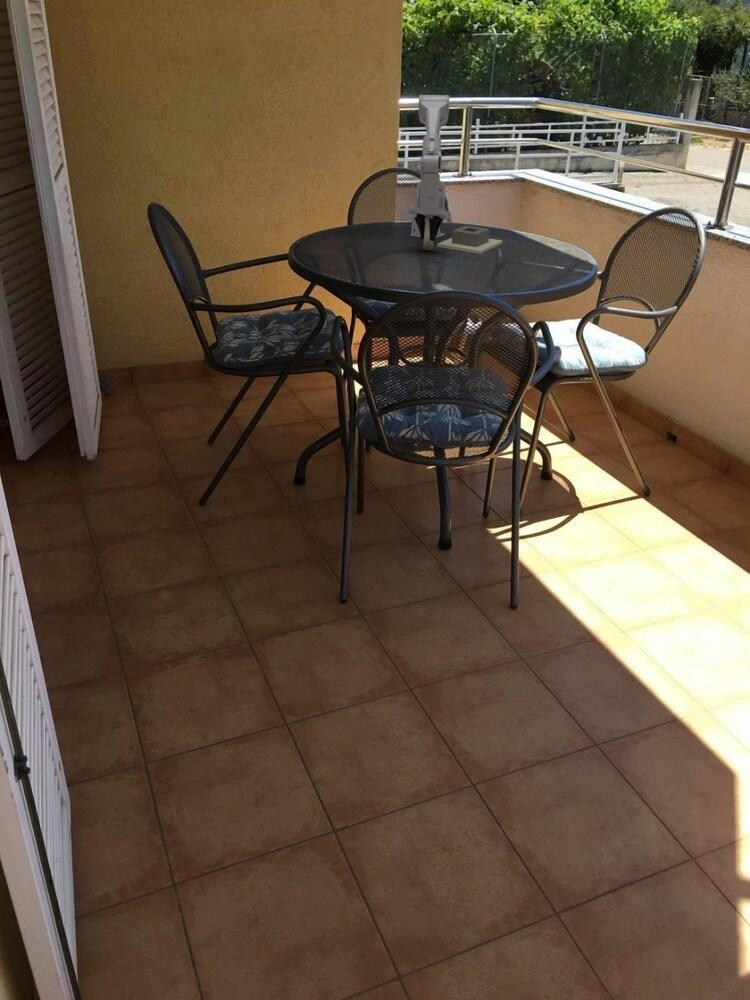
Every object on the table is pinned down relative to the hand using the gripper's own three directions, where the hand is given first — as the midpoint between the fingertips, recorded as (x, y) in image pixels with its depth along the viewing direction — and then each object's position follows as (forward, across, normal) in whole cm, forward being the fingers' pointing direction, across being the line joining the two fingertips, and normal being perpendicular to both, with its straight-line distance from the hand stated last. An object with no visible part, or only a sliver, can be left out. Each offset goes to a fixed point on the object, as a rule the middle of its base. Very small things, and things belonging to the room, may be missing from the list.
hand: (428, 239), depth 267 cm
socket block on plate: (+4, +8, +14) cm, 16 cm away
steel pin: (+3, 0, 0) cm, 3 cm away
